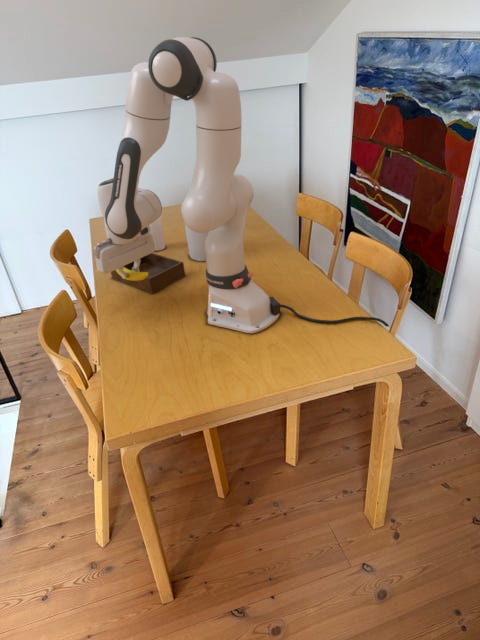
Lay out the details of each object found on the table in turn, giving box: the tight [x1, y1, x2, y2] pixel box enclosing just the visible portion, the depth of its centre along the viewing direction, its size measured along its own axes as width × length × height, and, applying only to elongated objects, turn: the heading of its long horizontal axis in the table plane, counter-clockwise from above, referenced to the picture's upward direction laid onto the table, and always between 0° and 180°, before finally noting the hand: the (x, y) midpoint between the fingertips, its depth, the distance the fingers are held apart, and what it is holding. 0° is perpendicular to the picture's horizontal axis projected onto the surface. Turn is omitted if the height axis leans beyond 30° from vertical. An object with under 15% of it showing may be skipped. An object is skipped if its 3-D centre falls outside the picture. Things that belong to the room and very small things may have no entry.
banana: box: [116, 267, 149, 281], centre depth 143 cm, size 3×19×6 cm, turn 50°
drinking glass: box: [149, 214, 166, 252], centre depth 182 cm, size 7×7×15 cm
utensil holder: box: [184, 223, 209, 262], centre depth 173 cm, size 15×15×18 cm
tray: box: [110, 252, 186, 295], centre depth 163 cm, size 22×15×6 cm
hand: (131, 275), depth 144 cm, fingers closed on banana, 3 cm apart
